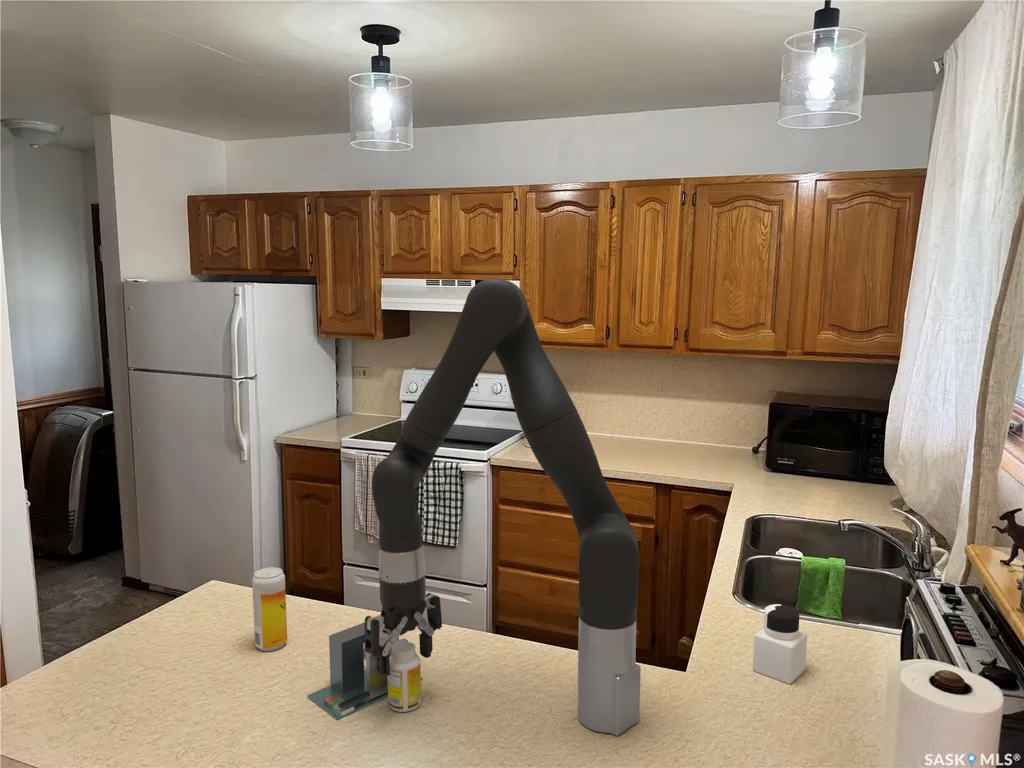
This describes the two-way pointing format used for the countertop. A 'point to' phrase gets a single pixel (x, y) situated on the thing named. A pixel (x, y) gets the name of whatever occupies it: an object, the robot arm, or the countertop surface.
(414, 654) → the supplement bottle
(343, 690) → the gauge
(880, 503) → the countertop surface
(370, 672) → the grey plate with rod
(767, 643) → the medicine bottle
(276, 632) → the beer can
